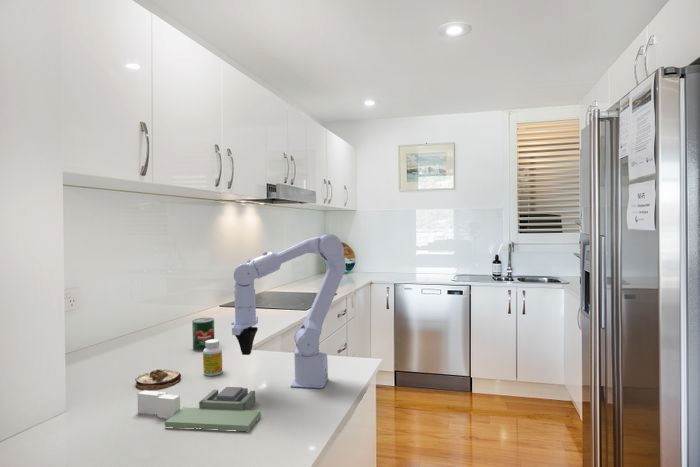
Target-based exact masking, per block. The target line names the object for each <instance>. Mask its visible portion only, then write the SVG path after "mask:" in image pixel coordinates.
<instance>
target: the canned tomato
mask: <svg viewBox="0 0 700 467" xmlns="http://www.w3.org/2000/svg"><path fill="white" fill-rule="evenodd" d="M191 322H192V324H191V325H192V350H193V352H198V353H199V352H201V353H202V352H203V350H204V349H205V348H206V346H205V341H207V340H211V339H215V318H213V317H199V318H195V319H192V321H191Z"/></svg>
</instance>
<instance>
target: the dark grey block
mask: <svg viewBox="0 0 700 467" xmlns="http://www.w3.org/2000/svg"><path fill="white" fill-rule="evenodd" d="M248 391H249V390H248V388H245V387H244V388H243V386H242V387H241V386H238V387H237V386H226V387H225V388H224V389H222V390H221V391H220V392H218V395H217V396H216V397H215V398H214V399H213V401H236V402H241V401H242V400H243V398H244V397H245V396H246V395H247V394H248V393H249V392H248Z"/></svg>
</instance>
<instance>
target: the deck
mask: <svg viewBox="0 0 700 467" xmlns="http://www.w3.org/2000/svg"><path fill="white" fill-rule="evenodd" d="M218 394H219V389H213V390H212V391H210V392H209V393H208V394H207V395H206V396H205V397H203V398H202V399H200V401H199V402H198V406H199V407H186V406H185V407H182V408H180V410H179V411H178V412H177V413H175V414H174V415H173V416H172V417H170V418H169V419H168V418H167V419H166V420H165V421H164V428H165V427H173V428H194V429H196V428H198V429H199V428H201V429H218V430H236V431H246V432H245V433H248V432H247V431H249V430H250V429H252V428H253V427H254V426H255V424H256V423H257V422H258V421H257V419H258V418H259V417H260V416H261V410H251V409H252V408H253V406H254V405H255V404H256V390H250V391H249V392H248V394H247V395H246V396H245V397H244V398H243V400H242V401H241V402H236V401H213V399H214V398H215V397H216V396H217V395H218ZM254 403H255V404H254ZM253 404H254V405H253ZM260 418H261V417H260ZM260 418H259V419H260ZM259 419H258V420H259ZM256 421H257V422H256ZM255 422H256V423H255ZM254 423H255V424H254ZM253 425H254V426H253ZM252 426H253V427H252ZM251 427H252V428H251ZM250 431H251V430H250ZM250 431H249V432H250Z"/></svg>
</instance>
